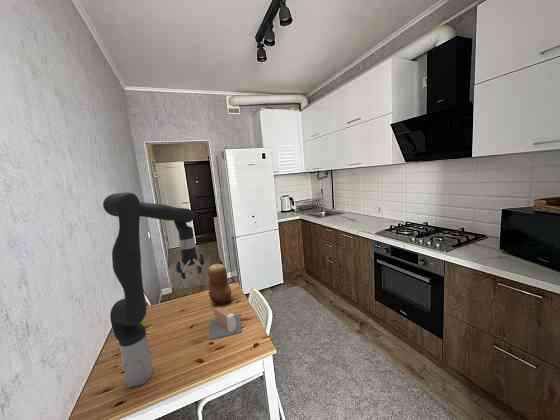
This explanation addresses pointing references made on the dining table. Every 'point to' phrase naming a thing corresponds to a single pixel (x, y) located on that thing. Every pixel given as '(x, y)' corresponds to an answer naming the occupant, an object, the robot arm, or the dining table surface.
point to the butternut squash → (218, 284)
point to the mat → (223, 329)
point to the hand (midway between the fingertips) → (192, 275)
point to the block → (225, 319)
